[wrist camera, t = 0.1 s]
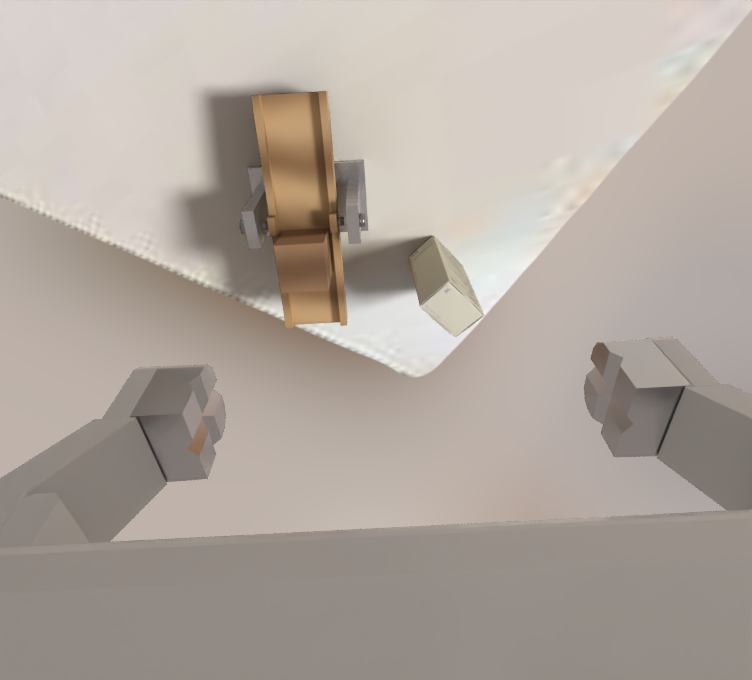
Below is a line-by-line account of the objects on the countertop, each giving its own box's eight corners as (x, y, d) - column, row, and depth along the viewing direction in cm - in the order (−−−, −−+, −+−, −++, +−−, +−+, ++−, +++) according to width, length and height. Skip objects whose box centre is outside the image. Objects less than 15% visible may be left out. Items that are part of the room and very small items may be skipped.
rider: (283, 230, 51) (273, 245, 46) (328, 228, 51) (323, 243, 46) (289, 273, 54) (280, 292, 48) (332, 271, 54) (328, 290, 48)
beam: (254, 96, 49) (240, 95, 44) (336, 91, 49) (332, 90, 44) (286, 312, 60) (278, 333, 54) (354, 308, 60) (352, 329, 54)
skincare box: (407, 256, 61) (415, 305, 51) (434, 233, 59) (448, 278, 49) (439, 288, 63) (453, 340, 53) (466, 266, 62) (485, 315, 52)
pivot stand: (248, 166, 54) (229, 192, 47) (363, 159, 54) (363, 184, 46) (261, 233, 59) (246, 267, 51) (368, 227, 59) (368, 260, 51)
